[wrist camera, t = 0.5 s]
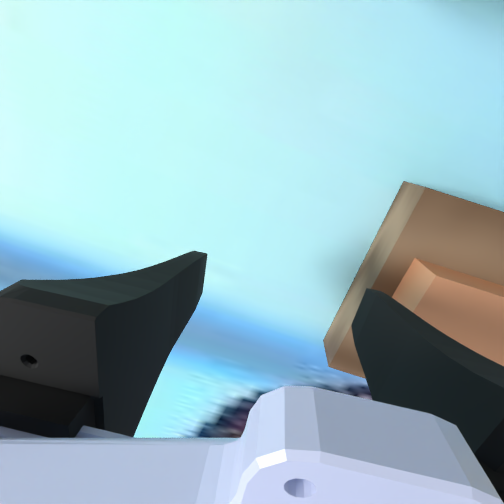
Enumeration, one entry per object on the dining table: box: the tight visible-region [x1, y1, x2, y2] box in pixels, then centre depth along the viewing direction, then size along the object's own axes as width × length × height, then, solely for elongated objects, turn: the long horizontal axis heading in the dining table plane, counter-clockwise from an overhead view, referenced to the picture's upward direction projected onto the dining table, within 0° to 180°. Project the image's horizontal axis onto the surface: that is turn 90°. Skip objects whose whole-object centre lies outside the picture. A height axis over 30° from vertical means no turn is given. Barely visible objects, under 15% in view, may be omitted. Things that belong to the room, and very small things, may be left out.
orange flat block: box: [392, 258, 504, 366], centre depth 16 cm, size 6×9×2 cm, turn 73°
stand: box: [323, 181, 504, 379], centre depth 19 cm, size 14×12×3 cm
